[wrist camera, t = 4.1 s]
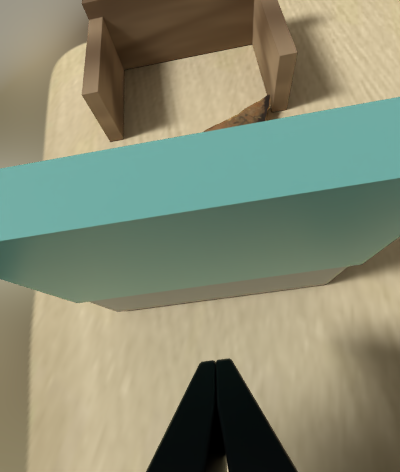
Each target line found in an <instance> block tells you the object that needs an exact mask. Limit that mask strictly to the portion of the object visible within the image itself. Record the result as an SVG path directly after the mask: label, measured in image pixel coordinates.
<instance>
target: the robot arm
mask: <svg viewBox="0 0 400 472" xmlns="http://www.w3.org/2000/svg"><path fill="white" fill-rule="evenodd" d="M227 464H228V470H229V472H298V471H297V470H296V468H295V466H294V464H293V463H292V461H291V459H290V458H289V456H288V454H287V453H286V451H285V449H284V448H283V446H282V444H281V442H280V441H279V439H278V437H277V436H276V434H275V432H274V431H273V429H272V427H271V426H270V424H269V422H268V420H267V419H266V417H265V415H264V414H263V412H262V410H261V409H260V407H259V405H258V403H257V402H256V400H255V398H254V397H253V395H252V393H251V392H250V390H249V388H248V387H247V385H246V383H245V381H244V380H243V378H242V376H241V375H240V373H239V371H238V370H237V368H236V366H235V365H234V363H233V361H232V360H231V359H221V360H217V361H216V362H215V361H213V360H212V361H204V362H201V363H200V364H199V366H198V368H197V370H196V372H195V374H194V376H193V378H192V380H191V382H190V384H189V386H188V388H187V390H186V392H185V394H184V396H183V398H182V400H181V402H180V404H179V406H178V408H177V410H176V412H175V414H174V416H173V418H172V420H171V422H170V424H169V426H168V428H167V430H166V432H165V434H164V436H163V438H162V440H161V442H160V444H159V446H158V448H157V451H156V453H155V455H154V457H153V459H152V461H151V463H150V465H149V467H148V469H147V471H146V472H227Z"/></svg>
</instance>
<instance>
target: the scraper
mask: <svg viewBox="0 0 400 472" xmlns="http://www.w3.org/2000/svg"><path fill="white" fill-rule="evenodd" d="M399 237H400V97H397V98H391V99H386V100H380V101H374V102H369V103H363V104H358V105H352V106H347V107H341V108H335V109H330V110H324V111H319V112H313V113H308V114H302V115H296V116H291V117H285V118H280V119H274V120H269V121H263V122H257V123H252V124H246V125H241V126H235V127H230V128H224V129H219V130H213V131H207V132H202V133H196V134H191V135H185V136H180V137H174V138H168V139H163V140H157V141H152V142H146V143H141V144H135V145H129V146H124V147H118V148H113V149H107V150H102V151H96V152H91V153H85V154H79V155H74V156H68V157H63V158H57V159H52V160H46V161H40V162H35V163H29V164H24V165H18V166H13V167H7V168H1V169H0V279H2V280H5V281H8V282H11V283H14V284H18V285H21V286H24V287H27V288H31V289H34V290H37V291H40V292H43V293H46V294H50V295H53V296H56V297H59V298H62V299H66V300H69V301H72V302H75V303H82V302H91V303H94V304H97V305H99V306H102V307H105V308H108V309H111V310H114V311H117V312H121V311H128V310H136V309H144V308H151V307H159V306H166V305H174V304H182V303H189V302H197V301H204V300H212V299H219V298H227V297H235V296H242V295H250V294H257V293H265V292H272V291H280V290H288V289H295V288H303V287H310V286H318V285H325V284H327V283H328V282H330V281H331V280H332V279H333V278H335V277H336V276H337V275H338V274H340V273H341V272H342V271H343V270H345V269H346V268H347V267H348V266H354V265H361V264H363V263H364V262H366V261H367V260H368V259H370V258H371V257H373V256H374V255H375V254H377V253H378V252H379V251H381V250H382V249H383V248H385V247H386V246H388V245H389V244H390V243H392V242H393V241H394V240H396V239H397V238H399Z"/></svg>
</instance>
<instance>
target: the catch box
mask: <svg viewBox="0 0 400 472" xmlns="http://www.w3.org/2000/svg"><path fill="white" fill-rule="evenodd" d="M82 5H83V8H84V10H85V12H86V14H87V16H88V19H89V26H88V36H87V47H86V57H85V67H84V78H83V88H82V96H83V98H84V99H85V101H86V103H87V104H88V106H89V107H90V109H91V111H92V112H93V114H94V116H95V117H96V119H97V121H98V122H99V124H100V126H101V127H102V129H103V130H104V132H105V134H106V135H107V137H108V139H109V140H110V142H111V141H116V140H122V139H123V127H124V70H126V69H131V68H136V67H141V66H146V65H151V64H156V63H161V62H166V61H171V60H176V59H181V58H185V57H190V56H195V55H200V54H205V53H210V52H215V51H220V50H225V49H230V48H235V47H240V46H245V45H250V44H253V48H254V51H255V55H256V58H257V62H258V65H259V69H260V72H261V76H262V79H263V82H264V86H265V89H266V93H267V95H270V107H271V110H272V112H276V111H281V110H287V104H288V99H289V94H290V89H291V84H292V79H293V73H294V68H295V63H296V58H297V53H298V52H297V50H296V47H295V44H294V42H293V39H292V37H291V34H290V32H289V29H288V26H287V24H286V21H285V19H284V16H283V13H282V11H281V8H280V6H279V3H278V1H277V0H82Z"/></svg>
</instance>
